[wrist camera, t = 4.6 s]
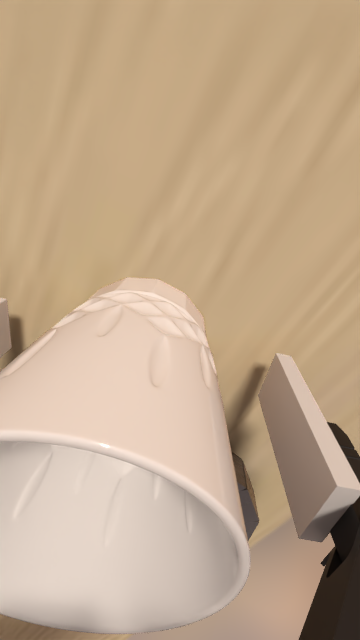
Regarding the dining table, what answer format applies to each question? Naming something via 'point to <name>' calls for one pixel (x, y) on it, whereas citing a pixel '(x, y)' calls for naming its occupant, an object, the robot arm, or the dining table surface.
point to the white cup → (118, 470)
